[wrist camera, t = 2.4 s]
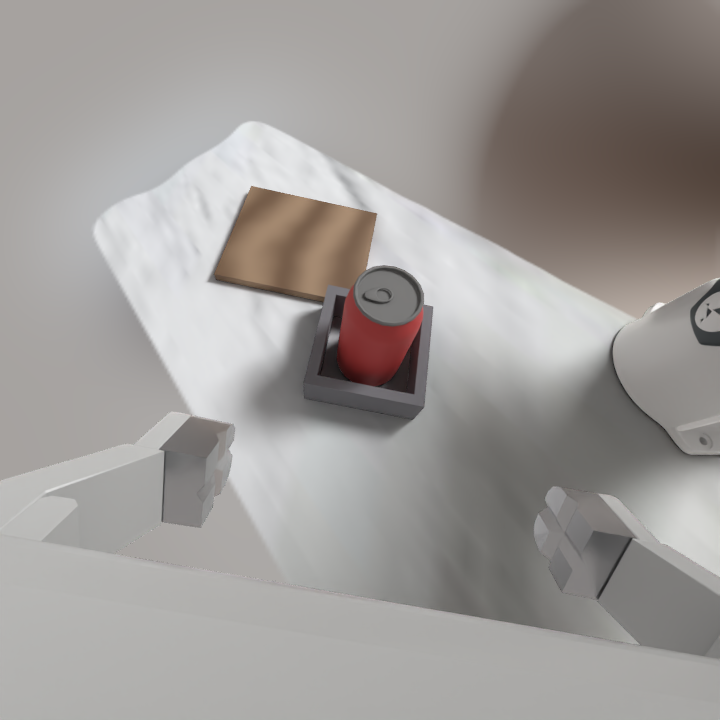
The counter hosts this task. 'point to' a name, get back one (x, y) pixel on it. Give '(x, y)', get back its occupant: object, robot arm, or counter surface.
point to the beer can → (379, 324)
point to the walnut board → (296, 245)
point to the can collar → (360, 393)
